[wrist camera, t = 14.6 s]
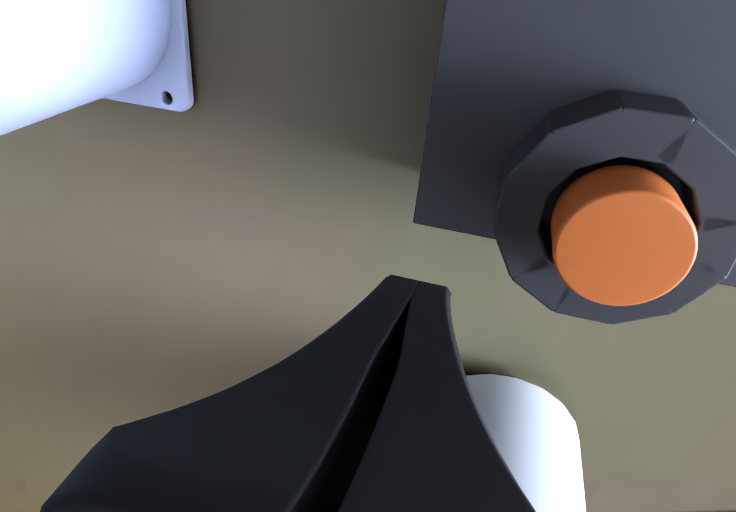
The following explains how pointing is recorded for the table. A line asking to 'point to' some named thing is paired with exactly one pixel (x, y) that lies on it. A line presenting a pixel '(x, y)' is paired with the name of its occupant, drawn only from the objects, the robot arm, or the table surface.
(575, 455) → the can
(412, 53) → the table surface
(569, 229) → the button
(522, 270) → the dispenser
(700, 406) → the table surface
